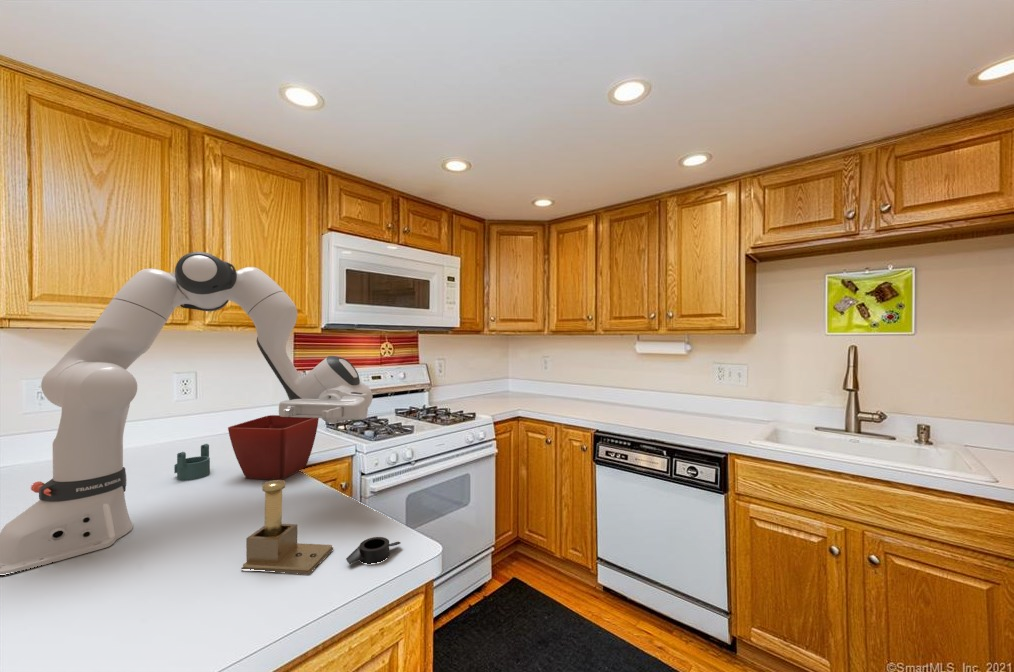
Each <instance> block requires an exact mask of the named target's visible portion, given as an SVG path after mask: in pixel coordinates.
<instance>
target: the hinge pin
mask: <svg viewBox="0 0 1014 672" xmlns="http://www.w3.org/2000/svg"><path fill="white" fill-rule="evenodd" d="M285 488H286V481H285V480H284V479H281V480H275V479H271V480H269V481H266V482H263V483H262V487H261V489H262V492H264V526H265V532H264V537H278V536H279V535H280V534H282V524H283V520H282V519H283V518H282V517H283V489H285Z"/></svg>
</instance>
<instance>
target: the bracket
mask: <svg viewBox="0 0 1014 672" xmlns="http://www.w3.org/2000/svg"><path fill="white" fill-rule="evenodd" d="M176 458H177V459H176V464H174V474H176V478H177V481H180V482H181V481H183V482H185V481H186V482H187V481H195V480H200V479H203V478H206V477H208V476H209V475H210V474H211V457H210V444H208V443H204V444H201V445H200V456H191V457H187V453H186V452H185V451H180V452H178V453H177V454H176Z"/></svg>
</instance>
